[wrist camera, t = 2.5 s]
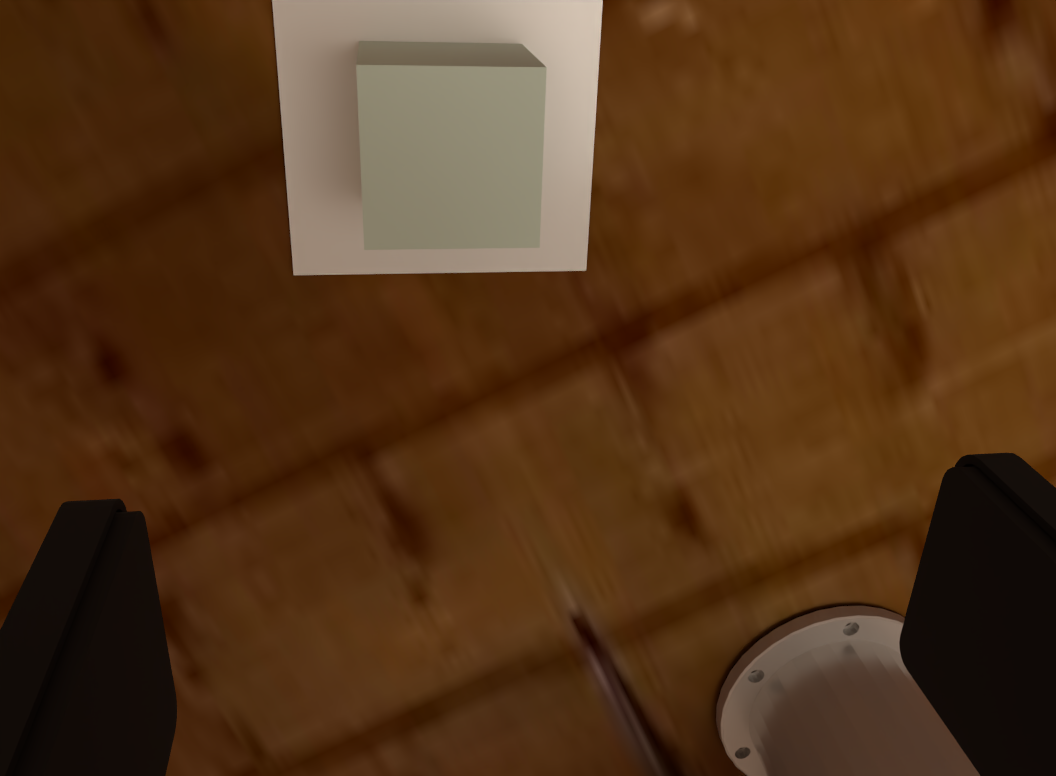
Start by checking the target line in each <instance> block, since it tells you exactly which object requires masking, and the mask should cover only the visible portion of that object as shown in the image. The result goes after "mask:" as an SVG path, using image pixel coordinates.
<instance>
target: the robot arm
mask: <svg viewBox="0 0 1056 776" xmlns="http://www.w3.org/2000/svg"><path fill="white" fill-rule="evenodd" d="M176 719H177V701H176V693H175V687H174V681H173V676H172V670H171V664H170V658H169V653H168V647H167V641H166V635H165V630H164V624H163V618H162V613H161V607H160V601H159V595H158V590H157V584H156V578H155V572H154V567H153V561H152V555H151V549H150V544H149V538H148V532H147V527H146V522H145V517H144V515H143V513H142V512H141V511H133V512H127V511H126V507H125V505H124V503H123V501H122V500H120V499H107V500H87V501H68V502H65V503H63V504H62V505H61V507H60V508H59V510H58V512H57V514H56V516H55V518H54V520H53V523H52V525H51V527H50V529H49V531H48V533H47V535H46V537H45V539H44V541H43V543H42V545H41V547H40V549H39V551H38V553H37V556H36V558H35V560H34V562H33V564H32V566H31V568H30V570H29V572H28V574H27V576H26V578H25V580H24V582H23V584H22V586H21V589H20V591H19V593H18V595H17V597H16V599H15V601H14V603H13V605H12V607H11V609H10V611H9V613H8V615H7V617H6V620H5V622H4V624H3V626H2V628H1V630H0V776H165V774H166V770H167V765H168V761H169V756H170V752H171V747H172V743H173V738H174V734H175V728H176ZM716 724H717V728H718V732H719V737H720V739H721V741H722V744H723V746H724V748H725V750H726V753H727V755H728V756H729V758H730V759H731V761H732V762H733V763H734V765H735V766H736V767H737V768H738V769H739V770H740V771H742V772H743V773H744V774H745V775H747V776H1056V488H1055V487H1054V486H1053V485H1051V484H1050V483H1049V482H1048V481H1047V480H1046V479H1045V478H1043V477H1042V476H1041V475H1040V474H1039V473H1038V472H1037V471H1035V470H1034V469H1033V468H1032V467H1031V466H1030V465H1029V464H1027V463H1026V462H1025V461H1024V460H1023V459H1022V458H1020V457H1019V456H1017V455H1015V454H1013V453H994V454H974V455H966V456H963V457H961V458H960V459H959V461H958V462H957V463H956V465H955V467H953V468H950V469H948V470H947V472H946V473H945V474H944V477H943V479H942V483H941V486H940V490H939V494H938V498H937V501H936V505H935V509H934V512H933V516H932V520H931V523H930V527H929V531H928V535H927V538H926V542H925V546H924V549H923V553H922V557H921V560H920V564H919V568H918V572H917V575H916V579H915V583H914V586H913V590H912V594H911V597H910V601H909V605H908V609H907V612H906V616H905V618H904V617H902V616H901V615H899V614H896V613H893V612H890V611H888V610H885V609H882V608H875V607H868V606H840V607H834V608H829V609H823V610H818V611H815V612H812V613H809V614H806V615H804V616H801V617H798V618H795V619H793V620H791V621H789V622H787V623H785V624H783V625H781V626H779V627H778V628H776V629H774V630H773V631H772V632H770V633H769V634H767V635H766V636H764V637H763V638H761V639H760V640H759V641H757V642H756V643H755V644H754V645H753V646H752V647H751V648H750V649H749V650H748V651H747V652H746V653H745V654H744V655H743V656H742V657H741V658H740V659H739V661H738V662H737V663H736V665H735V666H734V667H733V669H732V670H731V671H730V673H729V675H728V677H727V679H726V680H725V682H724V684H723V686H722V688H721V691H720V695H719V699H718V702H717V709H716Z"/></svg>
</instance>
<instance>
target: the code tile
mask: <svg viewBox="0 0 1056 776" xmlns="http://www.w3.org/2000/svg"><path fill="white" fill-rule="evenodd" d="M272 5H273V17H274V30H275V43H276V56H277V69H278V82H279V95H280V107H281V120H282V133H283V146H284V159H285V172H286V185H287V197H288V210H289V223H290V236H291V249H292V262H293V275H343V274H407V273H470V272H533V271H586V265H587V249H588V233H589V216H590V200H591V184H592V168H593V151H594V135H595V119H596V103H597V86H598V70H599V54H600V38H601V21H602V5H603V0H272ZM359 41H390V42H449V43H509V44H523V45H524V46H525V47H526V48H527V49H528V50H529V51H530V52H531V53H532V54H533V55H534V56H535V57H536V58H537V59H538V60H539V61H540V62H541V63H543V64H544V65H545V66H546V67H547V69H546V95H545V121H544V146H543V172H542V198H541V223H540V248H479V249H398V250H364V233H363V210H362V187H361V164H360V141H359V119H358V96H357V73H356V62H357V54H358V47H359Z"/></svg>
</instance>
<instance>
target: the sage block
mask: <svg viewBox="0 0 1056 776" xmlns="http://www.w3.org/2000/svg"><path fill="white" fill-rule="evenodd" d="M546 69H547V67H546V66H545V65H544V64H543V63H541V62H540V61H539V60H538V59H537V58H536V57H535V56H534V55H533V54H532V53H531V52H530V51H529V50H528V49H527V48H526V47H525V46H524V45H523V44H509V43H449V42H390V41H359V47H358V54H357V62H356V73H357V96H358V119H359V141H360V164H361V187H362V210H363V233H364V250H398V249H479V248H540V223H541V198H542V172H543V146H544V121H545V95H546Z"/></svg>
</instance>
